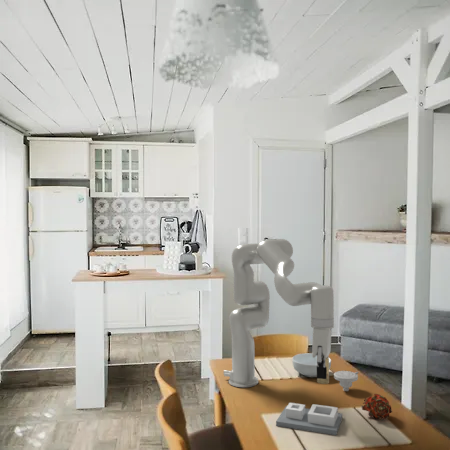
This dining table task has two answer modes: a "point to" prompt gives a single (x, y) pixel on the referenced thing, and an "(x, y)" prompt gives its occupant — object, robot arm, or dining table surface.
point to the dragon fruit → (377, 406)
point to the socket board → (311, 418)
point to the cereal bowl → (306, 364)
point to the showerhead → (346, 378)
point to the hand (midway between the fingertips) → (322, 375)
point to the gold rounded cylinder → (325, 381)
